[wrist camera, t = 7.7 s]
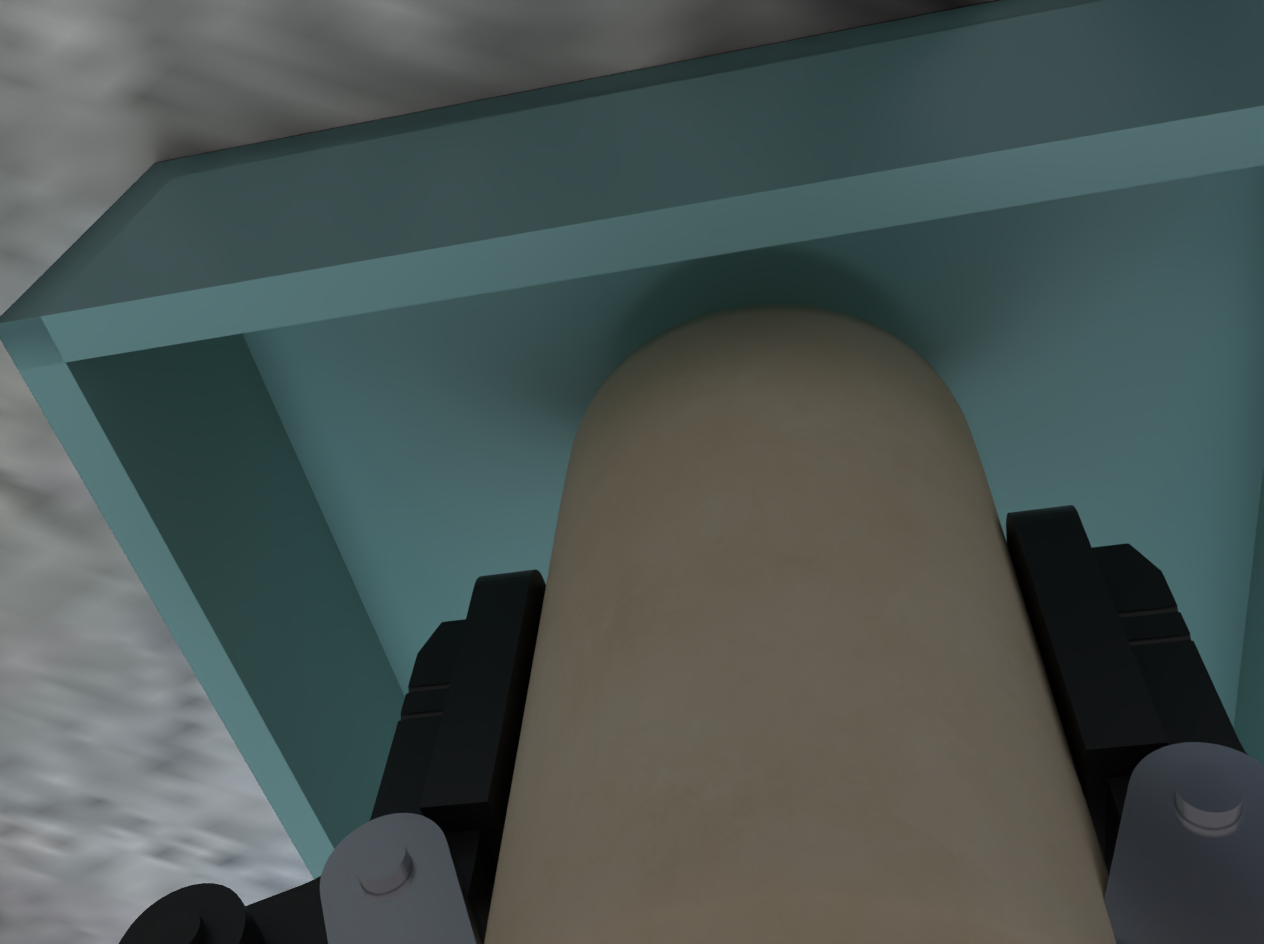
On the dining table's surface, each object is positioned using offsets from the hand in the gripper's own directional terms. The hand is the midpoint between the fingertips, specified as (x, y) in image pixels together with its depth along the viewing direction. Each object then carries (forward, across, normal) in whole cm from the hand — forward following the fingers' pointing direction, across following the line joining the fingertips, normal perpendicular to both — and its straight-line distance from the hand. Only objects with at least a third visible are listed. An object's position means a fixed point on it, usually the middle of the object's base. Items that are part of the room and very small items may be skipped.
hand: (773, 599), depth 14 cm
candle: (+3, 0, 0) cm, 3 cm away
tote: (+5, 0, +5) cm, 7 cm away
